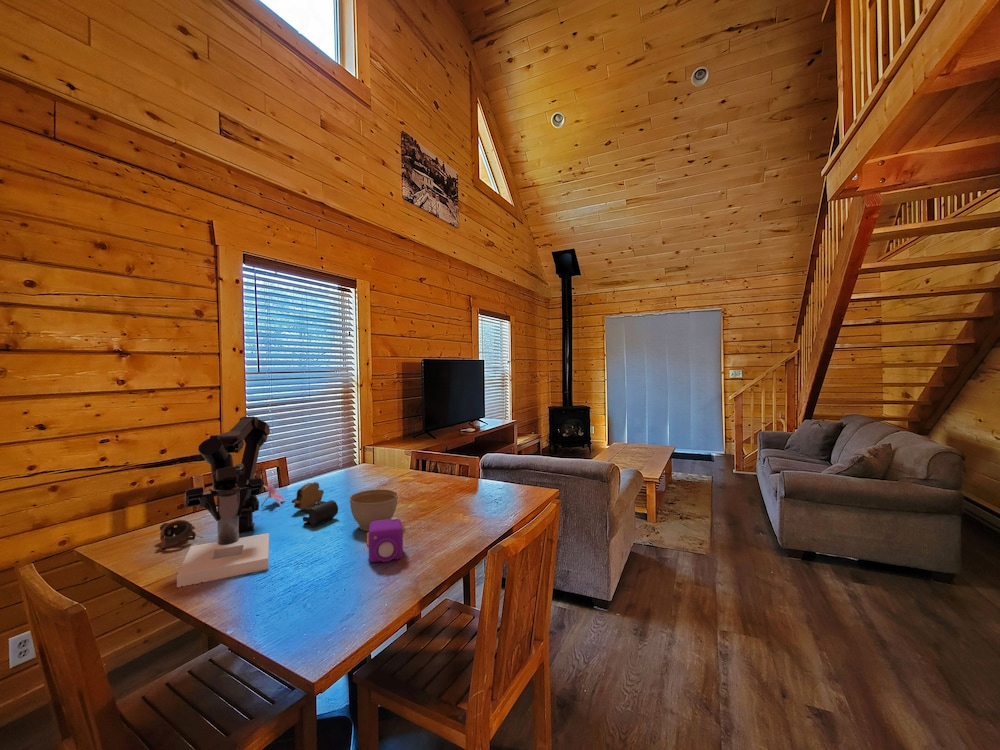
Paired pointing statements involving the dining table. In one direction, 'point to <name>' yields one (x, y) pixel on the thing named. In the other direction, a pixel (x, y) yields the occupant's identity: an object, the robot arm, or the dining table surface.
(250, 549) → the mount plate
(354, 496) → the planter bowl
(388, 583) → the dining table surface
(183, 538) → the brown hollow sculpture
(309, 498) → the wooden carving
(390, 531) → the toy camera
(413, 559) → the dining table surface
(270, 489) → the lily
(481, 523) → the dining table surface
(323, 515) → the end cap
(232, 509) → the tube
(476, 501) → the dining table surface
